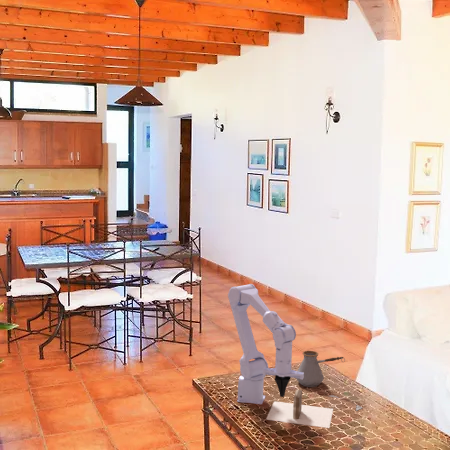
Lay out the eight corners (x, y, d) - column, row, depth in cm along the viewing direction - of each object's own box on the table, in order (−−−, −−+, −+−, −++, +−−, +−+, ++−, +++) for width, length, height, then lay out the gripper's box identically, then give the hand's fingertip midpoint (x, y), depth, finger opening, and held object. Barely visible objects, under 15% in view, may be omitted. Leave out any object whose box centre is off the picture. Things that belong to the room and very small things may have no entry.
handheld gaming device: (331, 394, 232) (363, 406, 221) (331, 395, 232) (363, 408, 221) (316, 399, 226) (348, 413, 215) (316, 401, 226) (348, 415, 215)
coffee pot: (289, 383, 243) (290, 348, 241) (305, 376, 251) (306, 341, 250) (334, 398, 229) (336, 361, 227) (350, 390, 237) (351, 353, 235)
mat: (266, 420, 208) (266, 419, 208) (274, 402, 224) (274, 401, 224) (329, 429, 203) (329, 427, 203) (333, 410, 218) (333, 408, 218)
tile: (293, 418, 209) (293, 396, 208) (295, 410, 216) (296, 389, 215) (298, 419, 209) (299, 397, 208) (301, 411, 216) (302, 390, 215)
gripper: (261, 360, 210) (260, 397, 211) (302, 365, 206) (300, 402, 207) (265, 354, 216) (264, 390, 218) (304, 358, 213) (303, 394, 214)
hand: (282, 395), depth 213 cm, fingers closed
